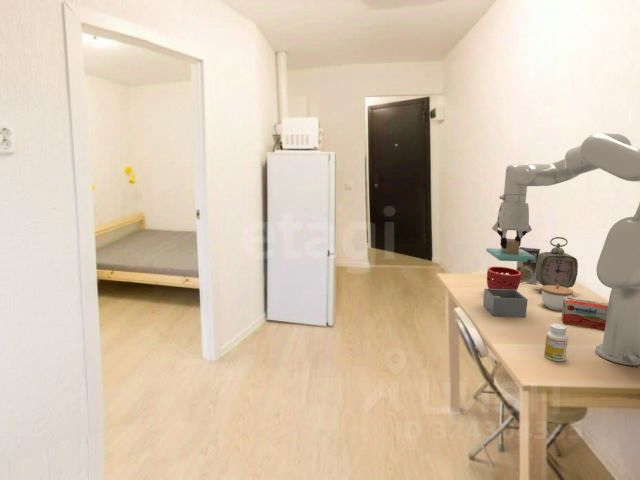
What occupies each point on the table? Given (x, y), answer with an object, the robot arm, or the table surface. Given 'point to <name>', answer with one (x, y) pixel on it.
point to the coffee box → (528, 266)
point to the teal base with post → (510, 252)
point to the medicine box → (584, 313)
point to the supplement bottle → (556, 343)
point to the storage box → (505, 303)
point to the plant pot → (503, 278)
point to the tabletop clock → (556, 267)
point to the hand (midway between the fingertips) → (510, 247)
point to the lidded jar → (555, 296)
